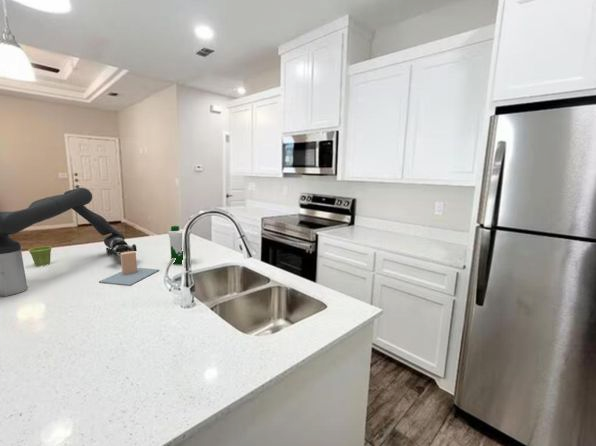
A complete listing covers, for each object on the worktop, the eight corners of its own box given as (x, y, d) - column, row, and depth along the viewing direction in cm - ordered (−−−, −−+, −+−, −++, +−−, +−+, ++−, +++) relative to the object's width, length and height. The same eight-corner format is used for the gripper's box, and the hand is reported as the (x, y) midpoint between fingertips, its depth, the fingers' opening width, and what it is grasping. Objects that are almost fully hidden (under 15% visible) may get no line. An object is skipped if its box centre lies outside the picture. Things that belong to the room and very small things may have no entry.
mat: (130, 285, 131) (130, 284, 130) (98, 282, 133) (98, 281, 133) (159, 270, 150) (159, 269, 150) (131, 268, 153) (131, 267, 153)
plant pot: (43, 267, 151) (41, 251, 150) (25, 267, 151) (23, 250, 150) (58, 261, 160) (56, 246, 159) (41, 261, 161) (39, 245, 159)
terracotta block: (122, 272, 144) (120, 252, 143) (135, 270, 148) (134, 250, 146) (123, 274, 142) (121, 254, 140) (137, 272, 146) (135, 252, 144)
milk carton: (178, 259, 168) (175, 224, 164) (192, 260, 166) (190, 225, 162) (168, 264, 159) (165, 227, 156) (183, 265, 158) (181, 228, 154)
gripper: (102, 240, 159) (107, 247, 147) (133, 237, 168) (139, 243, 156) (104, 254, 161) (108, 262, 148) (134, 250, 170) (140, 257, 157)
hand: (124, 252), depth 152 cm, fingers open, 6 cm apart
